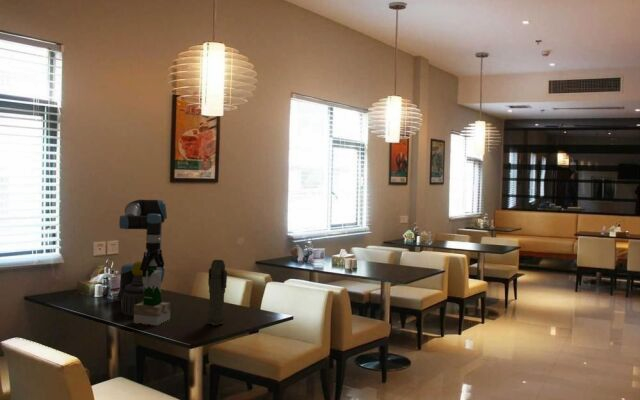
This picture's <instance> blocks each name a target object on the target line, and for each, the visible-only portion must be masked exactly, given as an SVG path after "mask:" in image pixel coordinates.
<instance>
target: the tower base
mask: <svg viewBox="0 0 640 400" xmlns="http://www.w3.org/2000/svg"><path fill="white" fill-rule="evenodd" d="M169 319H170V320H171V311H170V312H168V313H166V314H163V315H161V316H158V317H151V316H144V315H136V314H134V316H133V323H134V324H139V323H142V324H141V325H148V324H150V326H160V325H161V323H162V324H163V322H164V323H166V322H168V321H170V320H169ZM167 320H168V321H167ZM165 321H166V322H165Z"/></svg>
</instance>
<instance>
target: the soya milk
mask: <svg viewBox="0 0 640 400" xmlns="http://www.w3.org/2000/svg"><path fill="white" fill-rule="evenodd" d="M147 271H148V283H143V288H144V297H143V305H151V306H155V305H157V304H160V303H162V302H163V301H162V283H161V275H162V271H160V270H154V268H148V269H147ZM142 274H143V272H142Z"/></svg>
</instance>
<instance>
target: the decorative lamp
mask: <svg viewBox="0 0 640 400" xmlns="http://www.w3.org/2000/svg"><path fill="white" fill-rule="evenodd" d="M133 263H134V264H133V266H132V273H133V274H134V276H133V277H134V278H133V280H132V281H133V282H132V283H131V284H129V285H127V286H125V291H123V294H122V300H121V302H120V303H121V306H120V307H121V308H120V310H121V312H122V314H124V315H125V316H129V317H134V305H136V304H139V303H142V302H143V297H144V288H143V283H142V278H143V276H142V272H143V271H141V270H140V267H141V263H142V260H141V261H136V262H133ZM142 268H143V267H142Z"/></svg>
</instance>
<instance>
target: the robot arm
mask: <svg viewBox="0 0 640 400" xmlns="http://www.w3.org/2000/svg"><path fill="white" fill-rule="evenodd" d="M167 218H168V217H167V205H166V201H164V200H162V199H161V200H159V199H135V200H132V201H131V202H129V203H127V204H126V205H125V208H124V215H122V214H121V215H120V216H119V222H118V223H119V224H118V226H119V229H122V230H146V237H145V241H146V243H145V250H146V251H144V252H143V257H142V260H141V261H142V263H141V267H140V270H141V271H143V274H142V276H143V278H142V283H148V271H147V269H148V268H154V270H160V271H162V275H161V284H162V283H163V281H164V277H165V271H166V266H165V261H164V257H163V251H162V233H163V232H162V229H163V228H162V227H163V224H164V223H165V220H166V219H167ZM134 263H135V262H132V263H126V264H124V265H122V266H121V267H120V272H119V273H120V282H119V283H120V285H119V291H118V293H117V297H116V302H118V303H121V300H122V294H123V291H125V286H127V285H129V284H131V283H132V282H133V281H132V280H133V278H134V277H133V276H134V274H133V273H132V266H133V264H134ZM142 267H143V268H142Z"/></svg>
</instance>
